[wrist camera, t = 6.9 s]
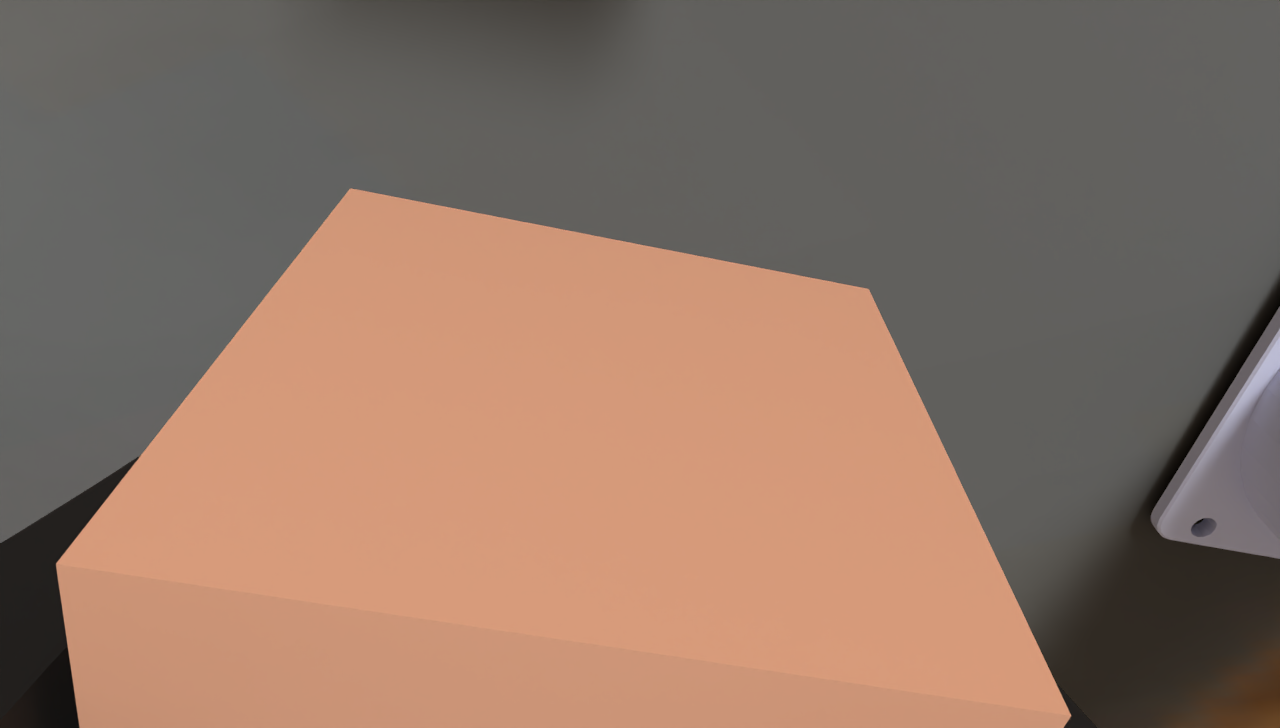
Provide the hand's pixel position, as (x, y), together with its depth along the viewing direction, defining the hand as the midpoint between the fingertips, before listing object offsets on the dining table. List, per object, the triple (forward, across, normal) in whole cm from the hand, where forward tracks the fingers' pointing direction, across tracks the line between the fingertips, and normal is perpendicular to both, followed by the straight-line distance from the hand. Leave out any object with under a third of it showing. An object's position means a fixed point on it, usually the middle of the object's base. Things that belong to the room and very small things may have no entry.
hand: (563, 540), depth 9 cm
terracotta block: (+2, 0, 0) cm, 2 cm away
